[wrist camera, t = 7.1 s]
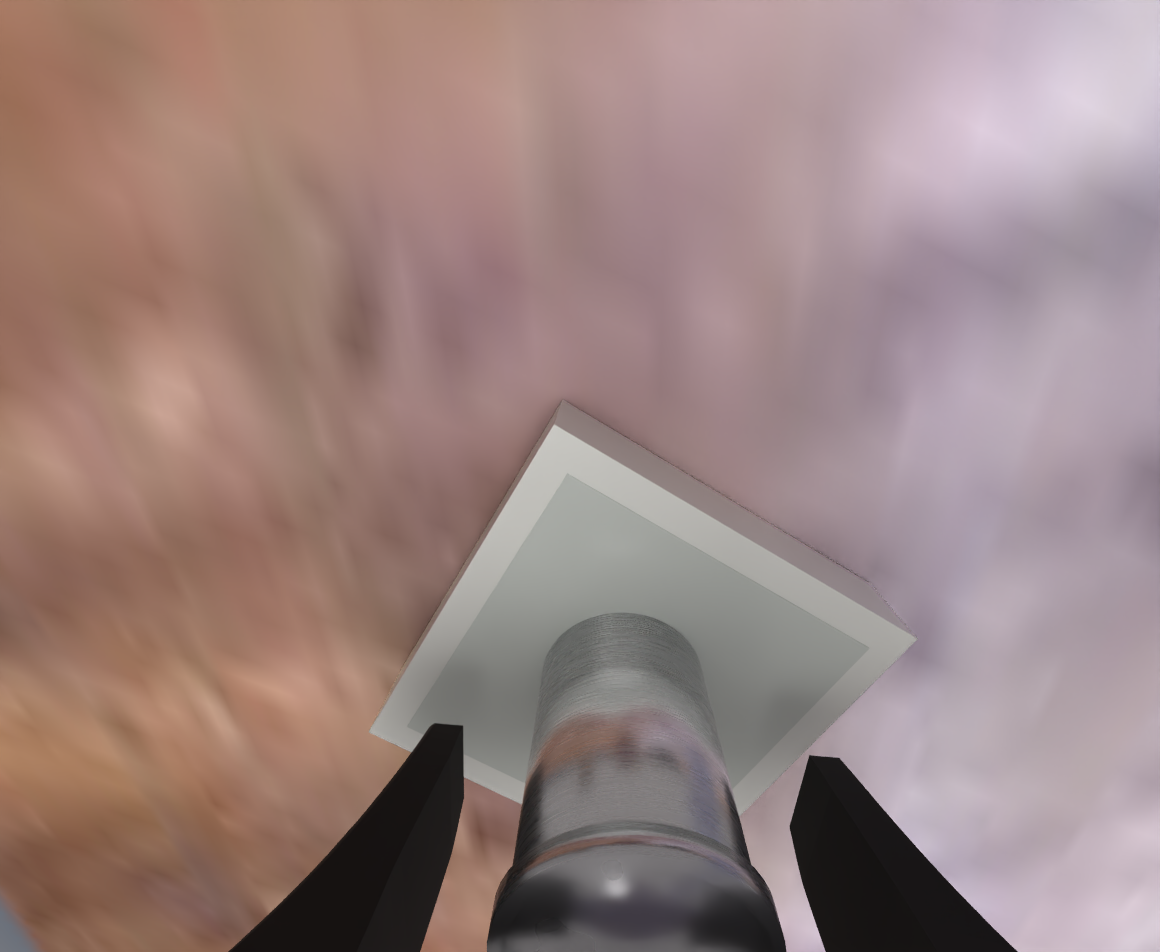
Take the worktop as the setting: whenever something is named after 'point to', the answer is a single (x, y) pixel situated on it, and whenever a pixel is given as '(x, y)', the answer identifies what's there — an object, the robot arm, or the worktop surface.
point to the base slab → (640, 610)
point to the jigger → (629, 808)
